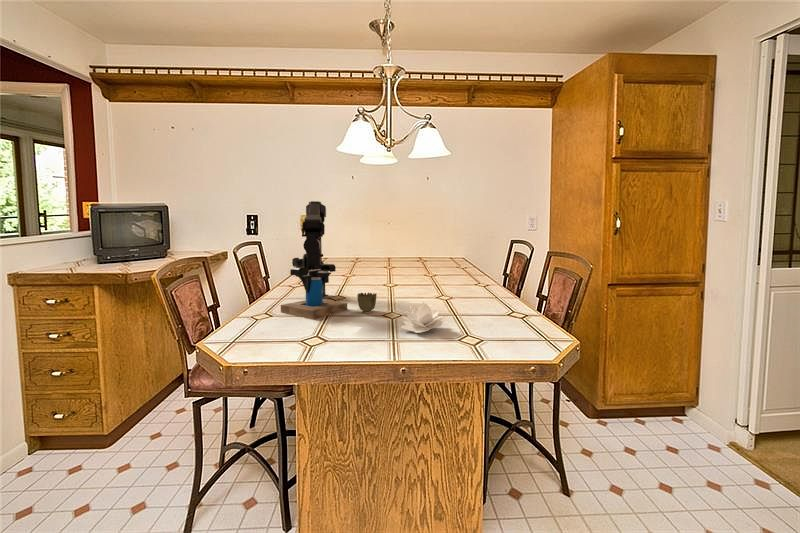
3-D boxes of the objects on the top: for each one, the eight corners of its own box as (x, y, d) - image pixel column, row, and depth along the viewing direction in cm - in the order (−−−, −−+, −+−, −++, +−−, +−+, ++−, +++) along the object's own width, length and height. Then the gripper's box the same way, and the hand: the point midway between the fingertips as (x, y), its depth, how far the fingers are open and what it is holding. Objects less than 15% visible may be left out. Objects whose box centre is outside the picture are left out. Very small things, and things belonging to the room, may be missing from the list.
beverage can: (321, 310, 169) (320, 279, 167) (304, 310, 169) (303, 279, 168) (324, 307, 175) (323, 277, 174) (307, 307, 175) (307, 277, 174)
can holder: (315, 306, 185) (315, 298, 184) (347, 311, 174) (347, 303, 174) (280, 313, 170) (280, 304, 170) (313, 320, 160) (313, 310, 159)
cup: (373, 316, 165) (373, 295, 164) (354, 315, 167) (354, 295, 166) (378, 312, 173) (378, 292, 172) (360, 312, 174) (360, 291, 173)
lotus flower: (394, 332, 143) (394, 305, 142) (408, 322, 157) (408, 298, 156) (437, 336, 138) (438, 309, 137) (448, 325, 152) (448, 300, 151)
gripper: (316, 249, 182) (317, 286, 184) (280, 252, 167) (281, 292, 169) (336, 250, 175) (336, 289, 177) (300, 253, 160) (301, 295, 162)
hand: (314, 291), depth 171 cm, fingers closed on beverage can, 6 cm apart
